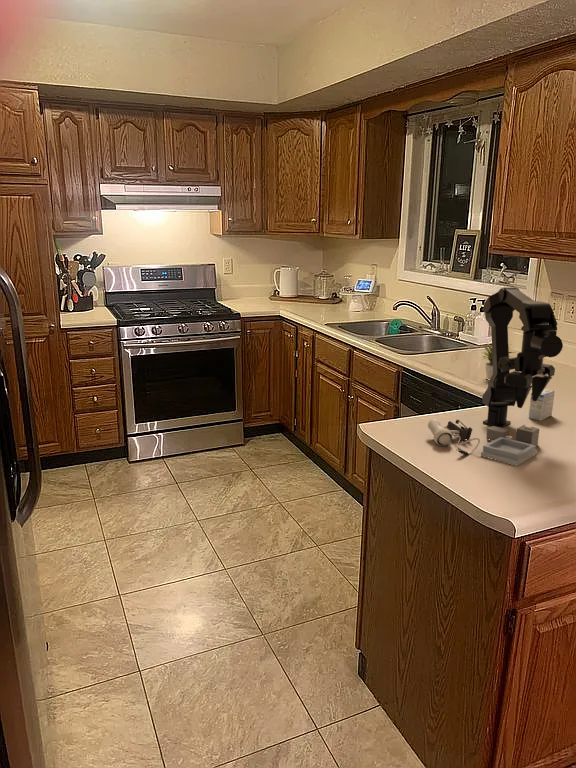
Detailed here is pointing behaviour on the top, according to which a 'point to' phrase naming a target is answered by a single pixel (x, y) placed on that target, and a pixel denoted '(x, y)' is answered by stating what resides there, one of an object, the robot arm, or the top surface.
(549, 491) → the top surface
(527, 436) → the brick
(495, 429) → the cable plug
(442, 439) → the clip-on lamp
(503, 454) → the blue gray tray
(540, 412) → the medicine box
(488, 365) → the house plant
